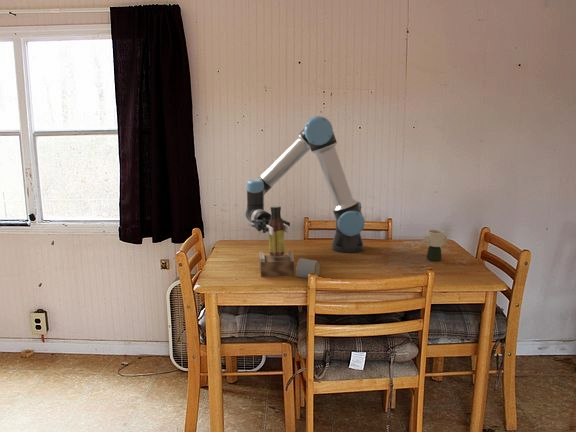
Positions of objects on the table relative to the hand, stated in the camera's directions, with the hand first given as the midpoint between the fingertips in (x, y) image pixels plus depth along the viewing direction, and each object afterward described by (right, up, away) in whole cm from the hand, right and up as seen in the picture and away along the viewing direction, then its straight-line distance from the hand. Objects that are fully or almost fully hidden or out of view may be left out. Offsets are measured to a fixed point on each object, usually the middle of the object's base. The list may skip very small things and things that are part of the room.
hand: (280, 230), depth 189 cm
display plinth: (-2, -17, +8) cm, 19 cm away
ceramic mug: (+11, -19, +3) cm, 22 cm away
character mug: (+68, -14, +27) cm, 74 cm away
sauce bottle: (-2, -10, +7) cm, 12 cm away
